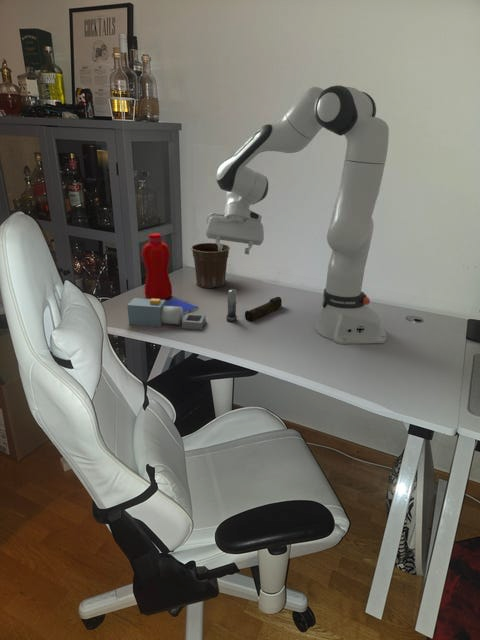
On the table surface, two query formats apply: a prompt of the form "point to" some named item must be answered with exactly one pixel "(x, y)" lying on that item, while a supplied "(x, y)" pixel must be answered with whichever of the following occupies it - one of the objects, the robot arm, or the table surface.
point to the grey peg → (231, 306)
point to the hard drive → (181, 305)
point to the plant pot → (210, 264)
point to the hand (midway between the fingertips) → (233, 251)
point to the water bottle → (156, 268)
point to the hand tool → (263, 309)
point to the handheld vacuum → (161, 314)
